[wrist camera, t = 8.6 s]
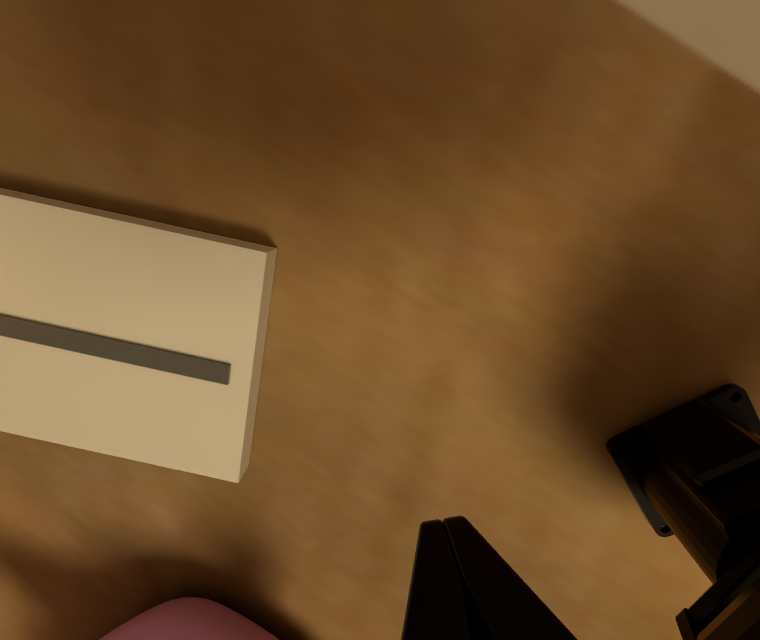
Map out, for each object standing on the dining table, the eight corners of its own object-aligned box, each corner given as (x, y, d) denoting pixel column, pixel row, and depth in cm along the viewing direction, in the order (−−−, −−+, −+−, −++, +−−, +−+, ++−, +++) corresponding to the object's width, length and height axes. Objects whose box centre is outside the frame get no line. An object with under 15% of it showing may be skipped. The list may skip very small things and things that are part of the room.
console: (277, 247, 19) (265, 253, 18) (248, 464, 23) (236, 485, 21) (-149, 155, 19) (-200, 151, 18) (-110, 386, 23) (-150, 401, 21)
